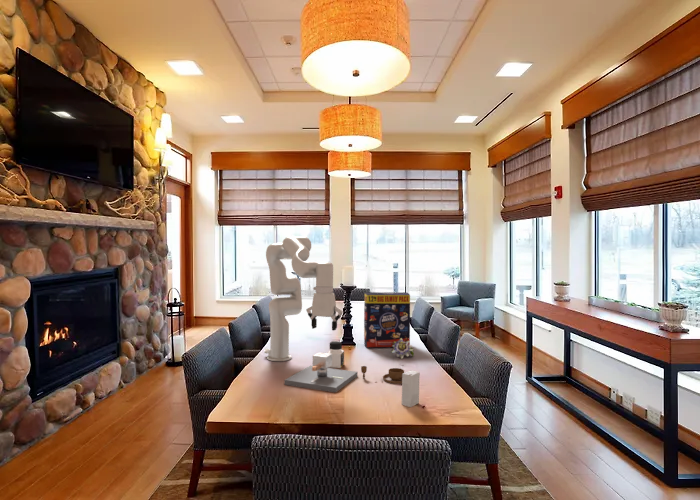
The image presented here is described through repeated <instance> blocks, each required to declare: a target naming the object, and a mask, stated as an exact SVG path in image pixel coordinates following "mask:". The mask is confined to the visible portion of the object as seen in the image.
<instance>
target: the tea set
mask: <svg viewBox="0 0 700 500" xmlns="http://www.w3.org/2000/svg"><path fill="white" fill-rule="evenodd" d="M367 369H368V367H367V366H365V365H362V366H360V371H361V374H362V380H365V379H366V374H367ZM403 373H405V370H404V369H403V368H399V367H392V368H389V369H388V373H385V374H384V375H383V376H382V379H383V381H384V382H385V383H387V384H394V385H400V384H401V385H402V374H403ZM387 378H389V379H387ZM390 379H391V380H390ZM374 383H376V384H377V381H375V382H374Z"/></svg>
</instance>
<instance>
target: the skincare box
mask: <svg viewBox="0 0 700 500" xmlns="http://www.w3.org/2000/svg"><path fill="white" fill-rule="evenodd" d="M420 378H421V377H420V371H415V370H409V371H406V372H405V371H404V373H403V374H402V379H401V381H402V384H401V405H402V406H405V407H408V408H412V407H414V406H415V405H417V404H419V403H420Z"/></svg>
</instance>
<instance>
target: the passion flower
mask: <svg viewBox="0 0 700 500" xmlns="http://www.w3.org/2000/svg"><path fill="white" fill-rule="evenodd" d="M408 343H409V341H406V342H403V340H402V338H400V340H399V341H396V342H395V341H394V343H393V342H392V344H393V345H392V347H394V348H392V350H391V351H390V353H392V354H394V353H395V354H396V358H400V359H401V360H402V359H404V356H406V357H409V356H410V355H411V357H412V358H413V357H414V355H415V353H414V349H413V345H412V344H410V345H409V344H408ZM409 354H410V355H409Z"/></svg>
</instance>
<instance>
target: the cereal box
mask: <svg viewBox="0 0 700 500" xmlns="http://www.w3.org/2000/svg"><path fill="white" fill-rule="evenodd" d="M363 311H364V312H363V313H364V314H363V315H364V316H363V328H364V329H363V331H364V332H363V333H364V334H363V341H364V342H363V343H364V344H363V345H364V346H365V348H367V349H383V348H384V349H385V348H386V349H387V348H389V349H391V348H392V349H394V347H392V345H393V344H392V342H393V343H394V341H395V342H396V341H399V340H400V338H402V340H403V342H406V341H409V343H408V344H409V345H411V344H410V343H411V294H410V293H408V292H400V291H399V292H397V291H395V292H393V291H391V292H387V291H385V292H384V291H382V292H381V291H380V292H379V291H377V292H376V291H375V292H374V291H373V292H371V291H370V292H365V293H364V307H363Z"/></svg>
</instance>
